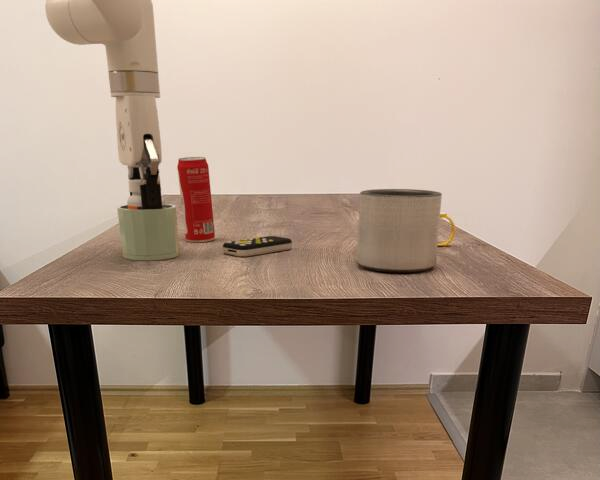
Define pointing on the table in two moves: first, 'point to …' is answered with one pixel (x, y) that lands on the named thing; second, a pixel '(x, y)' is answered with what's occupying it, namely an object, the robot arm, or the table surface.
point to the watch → (452, 229)
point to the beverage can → (196, 199)
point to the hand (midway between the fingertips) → (146, 207)
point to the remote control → (257, 246)
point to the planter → (398, 230)
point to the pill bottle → (137, 195)
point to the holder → (148, 233)
